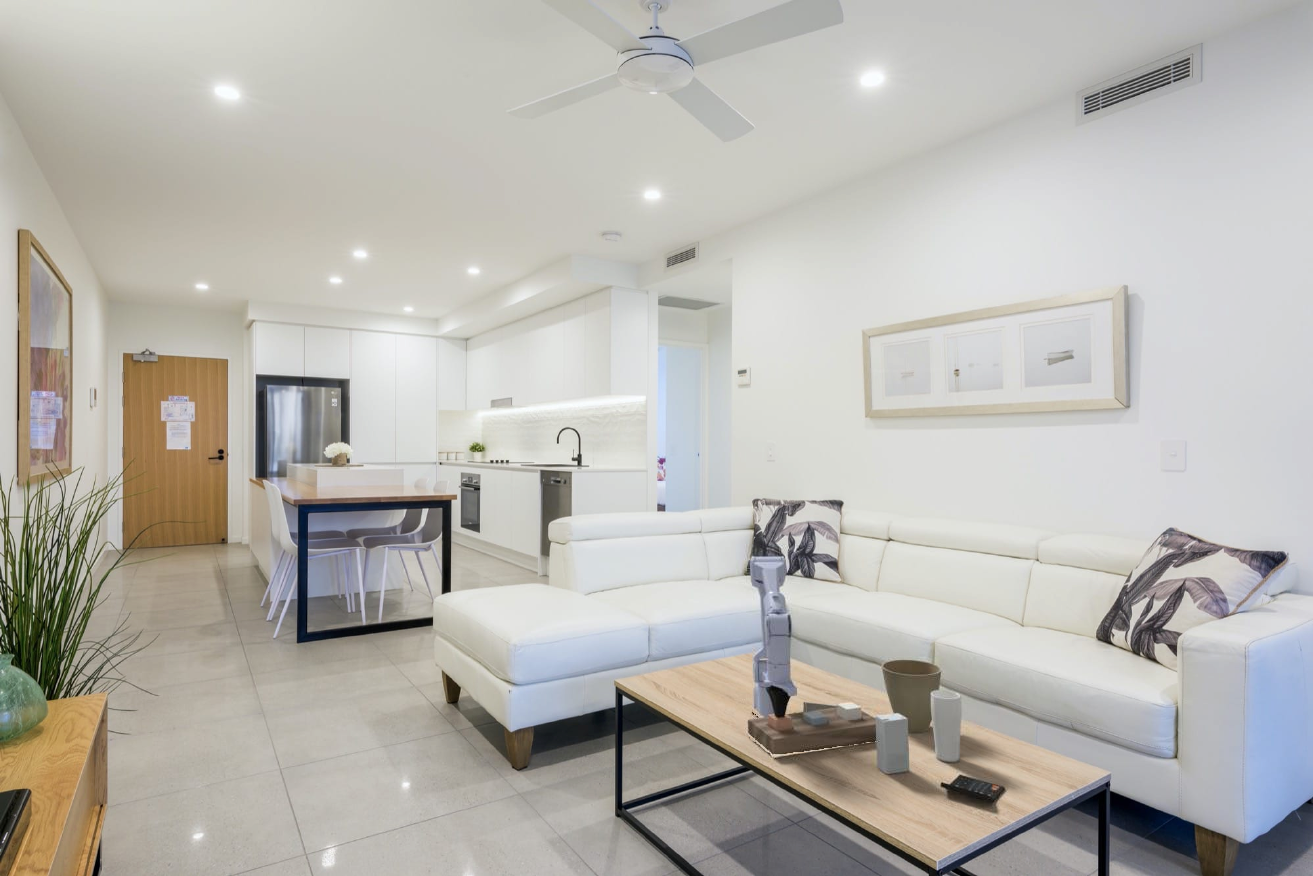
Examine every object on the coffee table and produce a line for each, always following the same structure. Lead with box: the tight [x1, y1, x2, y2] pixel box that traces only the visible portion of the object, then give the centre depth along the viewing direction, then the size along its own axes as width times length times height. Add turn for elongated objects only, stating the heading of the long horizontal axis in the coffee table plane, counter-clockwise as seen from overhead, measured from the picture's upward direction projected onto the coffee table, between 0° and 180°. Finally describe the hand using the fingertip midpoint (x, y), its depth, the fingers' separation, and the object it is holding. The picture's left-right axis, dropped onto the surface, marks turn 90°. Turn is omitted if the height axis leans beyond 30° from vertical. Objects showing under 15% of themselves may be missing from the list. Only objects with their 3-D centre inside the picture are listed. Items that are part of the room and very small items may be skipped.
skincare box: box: [875, 713, 910, 775], centre depth 163 cm, size 6×4×12 cm
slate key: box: [803, 710, 827, 726], centre depth 181 cm, size 4×4×4 cm
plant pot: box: [881, 659, 942, 733], centre depth 188 cm, size 15×15×16 cm
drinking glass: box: [931, 689, 963, 763], centre depth 168 cm, size 7×7×15 cm
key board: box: [747, 706, 876, 754], centre depth 181 cm, size 14×31×4 cm, turn 108°
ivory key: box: [836, 701, 862, 721], centre depth 184 cm, size 4×4×4 cm
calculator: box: [940, 774, 1006, 804], centre depth 151 cm, size 9×12×3 cm
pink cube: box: [768, 713, 792, 731], centre depth 178 cm, size 4×4×4 cm
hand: (779, 716), depth 178 cm, fingers closed, pressing on pink cube
